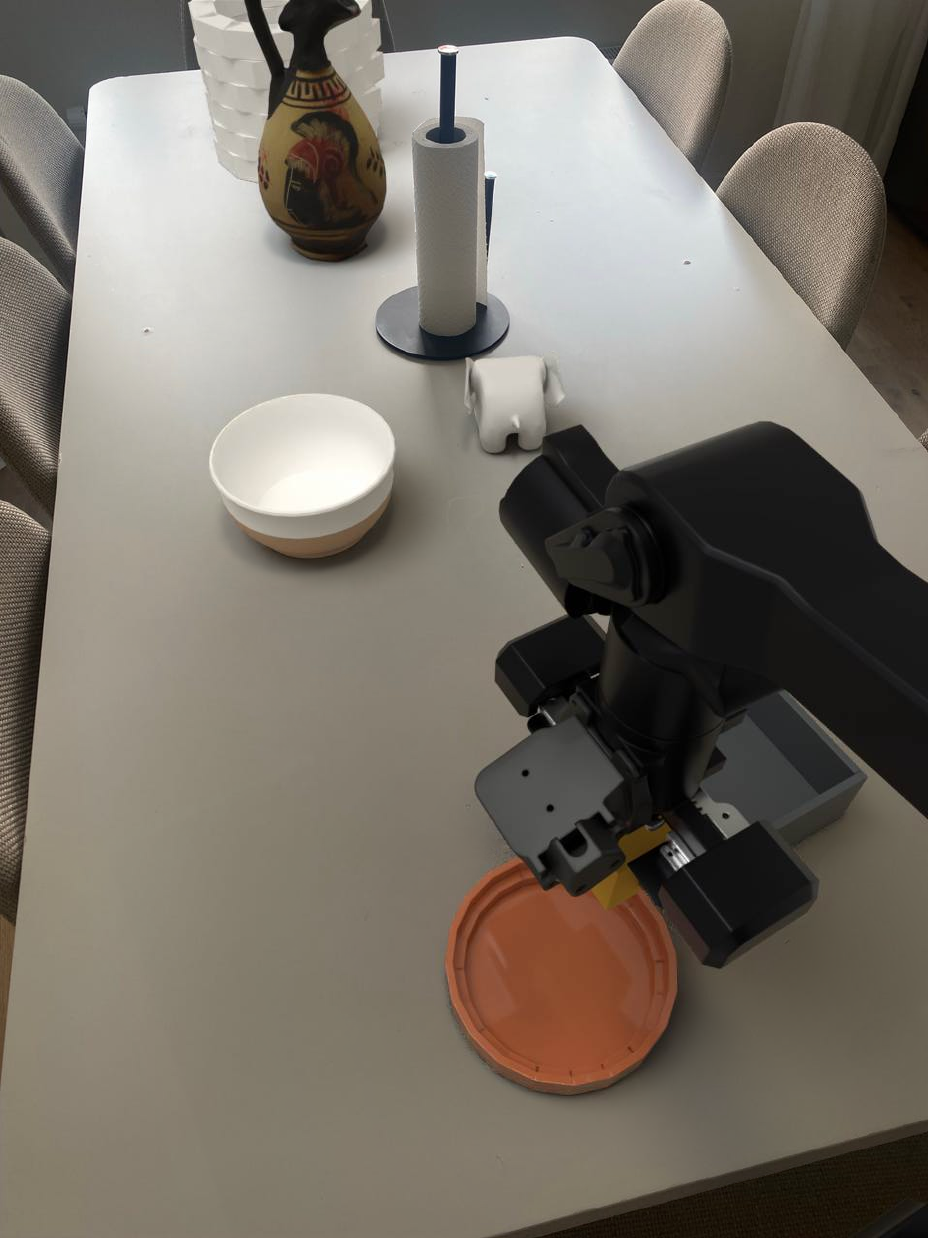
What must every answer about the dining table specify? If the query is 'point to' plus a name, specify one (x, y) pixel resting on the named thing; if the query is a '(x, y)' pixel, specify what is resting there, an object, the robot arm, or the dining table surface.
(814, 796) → the container
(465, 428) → the dining table surface
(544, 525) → the robot arm
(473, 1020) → the terracotta plant saucer
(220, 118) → the basket
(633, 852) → the toy block
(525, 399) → the elephant figurine
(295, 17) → the ceramic jug
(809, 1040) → the dining table surface
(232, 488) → the bowl
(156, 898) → the dining table surface
